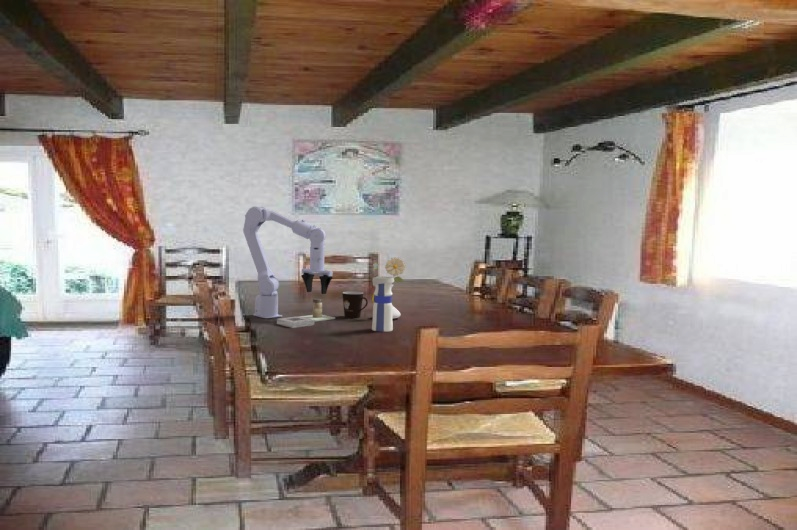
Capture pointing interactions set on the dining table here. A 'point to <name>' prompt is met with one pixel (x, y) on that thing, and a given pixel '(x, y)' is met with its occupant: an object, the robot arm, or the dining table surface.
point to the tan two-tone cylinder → (317, 308)
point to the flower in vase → (395, 268)
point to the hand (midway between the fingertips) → (316, 292)
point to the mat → (319, 318)
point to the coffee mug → (353, 304)
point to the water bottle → (382, 303)
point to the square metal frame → (295, 322)
